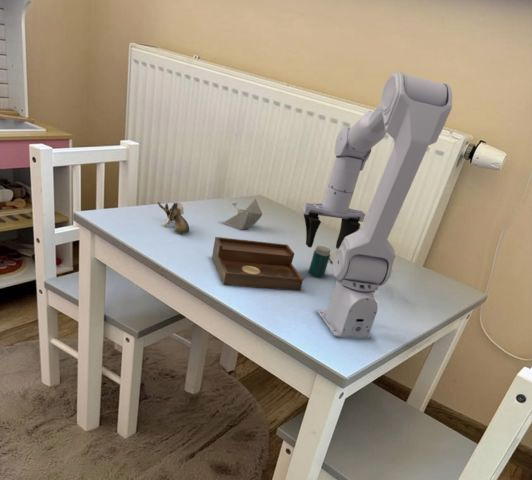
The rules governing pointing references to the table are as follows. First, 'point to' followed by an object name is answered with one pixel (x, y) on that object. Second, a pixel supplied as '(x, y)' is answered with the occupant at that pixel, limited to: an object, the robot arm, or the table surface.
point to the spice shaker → (319, 261)
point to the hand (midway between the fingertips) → (323, 247)
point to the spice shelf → (255, 264)
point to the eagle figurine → (176, 217)
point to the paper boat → (245, 216)
